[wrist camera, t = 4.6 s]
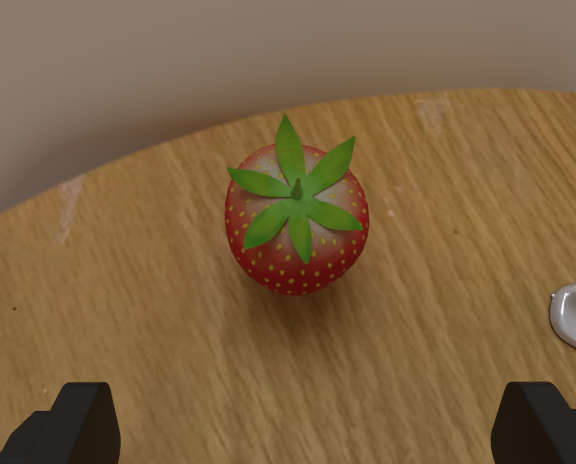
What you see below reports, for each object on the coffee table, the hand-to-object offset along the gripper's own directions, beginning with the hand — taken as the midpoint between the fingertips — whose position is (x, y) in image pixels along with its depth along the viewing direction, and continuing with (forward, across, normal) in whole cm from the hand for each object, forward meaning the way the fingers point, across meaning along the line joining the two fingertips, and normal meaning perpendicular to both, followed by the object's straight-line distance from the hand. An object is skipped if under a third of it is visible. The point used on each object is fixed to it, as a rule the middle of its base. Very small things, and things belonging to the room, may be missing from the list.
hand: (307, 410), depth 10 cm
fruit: (+12, 0, +3) cm, 12 cm away
